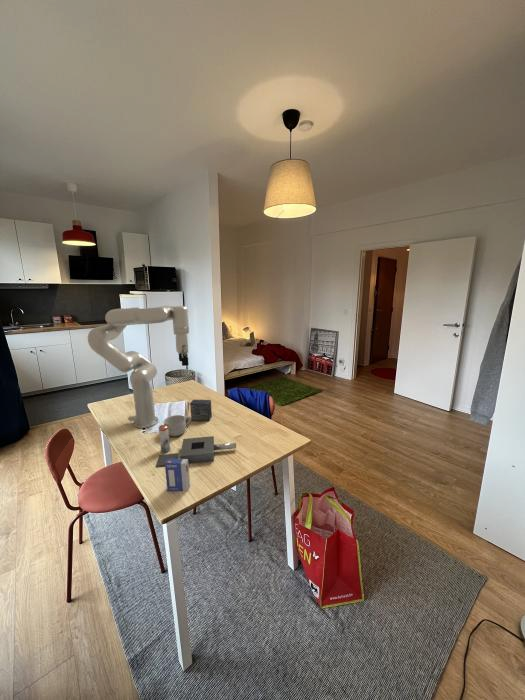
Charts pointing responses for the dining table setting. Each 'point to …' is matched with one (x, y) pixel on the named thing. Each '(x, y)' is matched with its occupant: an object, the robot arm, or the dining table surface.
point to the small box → (201, 410)
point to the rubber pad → (163, 459)
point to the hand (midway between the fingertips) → (183, 363)
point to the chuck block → (201, 449)
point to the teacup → (176, 424)
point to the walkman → (177, 474)
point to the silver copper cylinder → (164, 438)
